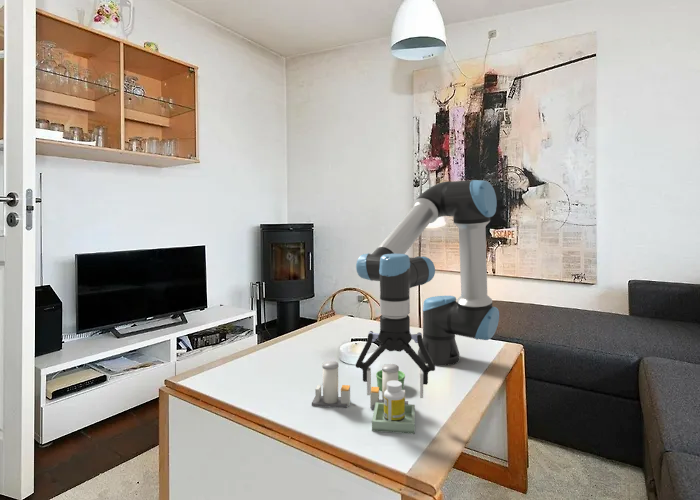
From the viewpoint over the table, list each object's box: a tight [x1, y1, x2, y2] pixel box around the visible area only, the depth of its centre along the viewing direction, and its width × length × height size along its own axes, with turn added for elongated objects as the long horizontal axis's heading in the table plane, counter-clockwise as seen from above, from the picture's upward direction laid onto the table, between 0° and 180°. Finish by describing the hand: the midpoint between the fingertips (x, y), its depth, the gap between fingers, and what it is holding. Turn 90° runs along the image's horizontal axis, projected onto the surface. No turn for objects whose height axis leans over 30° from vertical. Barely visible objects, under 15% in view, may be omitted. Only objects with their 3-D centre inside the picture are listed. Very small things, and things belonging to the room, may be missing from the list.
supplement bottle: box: [384, 380, 406, 422], centre depth 111 cm, size 5×5×10 cm
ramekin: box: [375, 369, 406, 392], centre depth 132 cm, size 9×9×4 cm
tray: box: [371, 402, 416, 435], centre depth 111 cm, size 11×11×2 cm
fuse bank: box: [311, 360, 409, 411], centre depth 120 cm, size 27×5×12 cm, turn 81°
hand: (395, 394), depth 111 cm, fingers open, 13 cm apart
